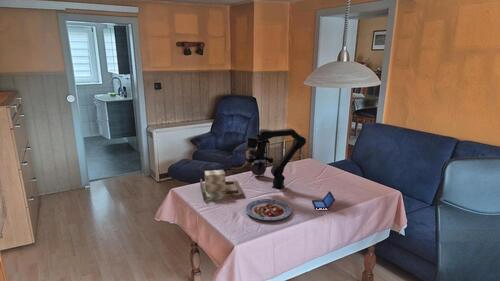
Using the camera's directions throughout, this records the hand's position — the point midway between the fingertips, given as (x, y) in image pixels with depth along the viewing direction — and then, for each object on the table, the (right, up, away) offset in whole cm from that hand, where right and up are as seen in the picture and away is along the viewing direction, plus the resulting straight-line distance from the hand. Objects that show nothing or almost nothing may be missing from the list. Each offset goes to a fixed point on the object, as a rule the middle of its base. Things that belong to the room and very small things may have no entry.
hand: (257, 171), depth 210 cm
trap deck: (-23, -13, -3) cm, 26 cm away
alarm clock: (+1, -6, +25) cm, 26 cm away
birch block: (-27, -10, -5) cm, 29 cm away
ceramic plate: (+6, -20, -28) cm, 35 cm away
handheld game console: (+38, -19, -21) cm, 47 cm away
